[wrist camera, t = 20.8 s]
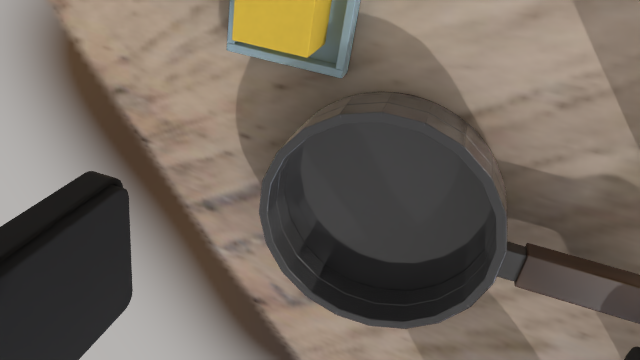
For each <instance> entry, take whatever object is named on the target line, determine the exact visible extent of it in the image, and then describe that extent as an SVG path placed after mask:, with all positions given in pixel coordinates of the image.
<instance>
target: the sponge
mask: <svg viewBox="0 0 640 360" xmlns="http://www.w3.org/2000/svg"><path fill="white" fill-rule="evenodd" d="M331 2H332V0H235V1H234V16H233V32H232V40H234V41H239V42H243V43H247V44H251V45H255V46H260V47H264V48H268V49H272V50H276V51H281V52H285V53H289V54H293V55H298V56H302V57H306V58H308V57H309V56H310V55H312V54H313V53H314V52H315V51H317V50H318V49H319V48H320V47H322V46H323V45H324V44H325V41H326V35H327V28H328V22H329V15H330V9H331Z"/></svg>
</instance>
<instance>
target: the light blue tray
mask: <svg viewBox="0 0 640 360" xmlns="http://www.w3.org/2000/svg"><path fill="white" fill-rule="evenodd" d="M234 1H235V0H230V5H229V21H228V37H227V42H228V43H227V51H231V52H235V53H239V54H244V55H248V56H252V57H256V58H260V59H264V60H268V61H272V62H276V63H280V64H285V65H289V66H293V67H297V68H301V69H305V70H309V71H313V72H317V73H321V74H326V75H330V76H334V77H338V78H342V77H343V76H344V75H345V74H346V73H347V72H348V66H349V61H350V55H351V50H352V44H353V39H354V33H355V28H356V22H357V17H358V12H359V6H360V1H361V0H332V2H331V9H330V15H329V22H328V28H327V35H326V41H325V44H324V45H323V46H322V47H320V48H319V49H318V50H317V51H315V52H314V53H313V54H312V55H310V56H309V57H308V58H306V57H302V56H298V55H293V54H289V53H285V52H281V51H276V50H272V49H268V48H264V47H260V46H255V45H251V44H247V43H243V42H239V41H234V40H232V32H233V16H234Z"/></svg>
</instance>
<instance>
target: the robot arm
mask: <svg viewBox="0 0 640 360" xmlns="http://www.w3.org/2000/svg"><path fill="white" fill-rule="evenodd" d="M131 271H132V270H131V245H130V220H129V196H128V192H127V190H126V189H124V188H123V185H122V183H121V181H120V180H118V179H116V178H113V177H110V176H107V175H104V174H100V173H97V172H94V171H89V172H87V173H84V174H83V175H81V176H80V177H78V178H76V179H75V180H74V181H72V182H70V183H69V184H67V185H65V186H64V187H62V188H61V189H59V190H58V191H56V192H54V193H53V194H51V195H50V196H48V197H47V198H45V199H43V200H42V201H40V202H39V203H37V204H36V205H34V206H32V207H31V208H29V209H28V210H26V211H25V212H23V213H21V214H20V215H18V216H17V217H15V218H14V219H12V220H10V221H9V222H7V223H6V224H4V225H3V226H1V227H0V360H79V359H80V358H81V357H82V355H83V354H84V353H85V352H86V351H87V350H88V349H89V348H90V347H91V346H92V344H94V343H95V342H96V340H97V339H98V338H99V337H100V336H101V335H102V334H103V333H104V332H105V331H106V330H107V329H108V327H109V326H110V325H111V324H112V323H113V322H114V321H115V320H116V319H117V318H118V317H119V316H120V314H122V312H123V311H124V310H125V309H126V308H127V306H128V304H129V302H130V300H131V297H132V272H131ZM624 360H640V347H634V348H632V349H631V350H630V351H629V353H628V354H627V356H626V358H625V359H624Z"/></svg>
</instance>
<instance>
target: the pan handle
mask: <svg viewBox="0 0 640 360" xmlns="http://www.w3.org/2000/svg"><path fill="white" fill-rule="evenodd" d="M497 276H498V277H501V278H505V279H508V280H511V281H514V283H515V286H516V287H519V288H522V289H526V290H529V291H532V292H536V293H539V294H542V295H546V296H549V297H552V298H556V299H559V300H562V301H566V302H569V303H572V304H576V305H579V306H582V307H586V308H589V309H592V310H596V311H599V312H602V313H606V314H609V315H612V316H616V317H619V318H622V319H626V320H629V321H632V322H636V323H639V324H640V275H639V274H635V273H632V272H628V271H625V270H621V269H618V268H614V267H611V266H607V265H603V264H600V263H596V262H593V261H589V260H586V259H582V258H579V257H575V256H572V255H568V254H565V253H561V252H558V251H554V250H551V249H547V248H544V247H540V246H537V245H533V244H530V243H527V244H526V246H525V247H524V246H521V245H517V244H514V243H510V242H507V253H506V255H505V258H504V260H503V262H502V265H501V267H500V269H499V272H498V274H497Z"/></svg>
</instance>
